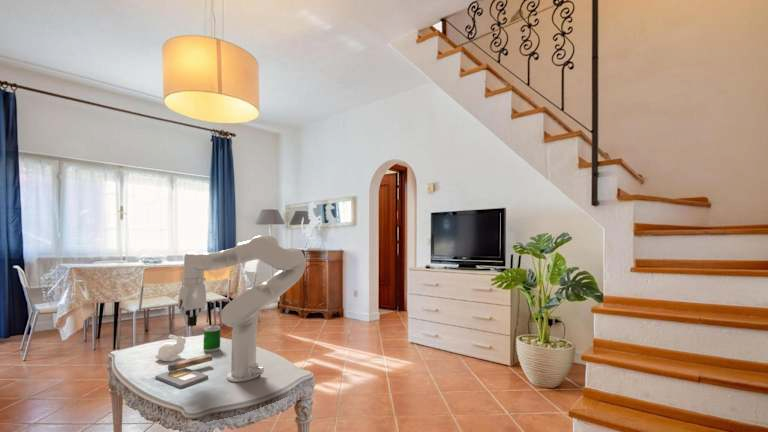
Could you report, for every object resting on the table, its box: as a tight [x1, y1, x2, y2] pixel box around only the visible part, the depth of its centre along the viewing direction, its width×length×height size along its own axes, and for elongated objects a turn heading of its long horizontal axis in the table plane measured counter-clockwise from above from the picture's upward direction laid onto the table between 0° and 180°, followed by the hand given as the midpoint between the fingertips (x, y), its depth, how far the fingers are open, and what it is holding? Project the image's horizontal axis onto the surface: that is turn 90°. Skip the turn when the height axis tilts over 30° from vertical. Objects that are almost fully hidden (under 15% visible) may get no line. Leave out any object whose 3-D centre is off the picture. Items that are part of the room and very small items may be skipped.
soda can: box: [202, 324, 222, 353], centre depth 177 cm, size 8×8×12 cm
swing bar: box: [167, 354, 213, 371], centre depth 151 cm, size 17×4×2 cm, turn 138°
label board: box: [155, 367, 209, 390], centre depth 142 cm, size 18×11×2 cm, turn 59°
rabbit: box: [154, 334, 187, 362], centre depth 164 cm, size 12×9×12 cm
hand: (192, 325), depth 149 cm, fingers closed
